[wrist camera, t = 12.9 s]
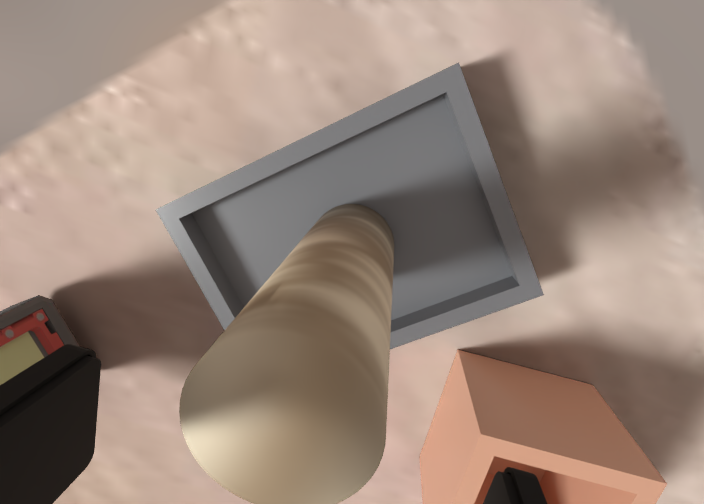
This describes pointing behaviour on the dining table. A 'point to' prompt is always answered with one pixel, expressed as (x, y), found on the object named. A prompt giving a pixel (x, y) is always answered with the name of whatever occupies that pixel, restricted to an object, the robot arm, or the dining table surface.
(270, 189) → the charcoal tray
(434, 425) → the terracotta box
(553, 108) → the dining table surface
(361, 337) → the birch dowel
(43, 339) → the walkie-talkie
